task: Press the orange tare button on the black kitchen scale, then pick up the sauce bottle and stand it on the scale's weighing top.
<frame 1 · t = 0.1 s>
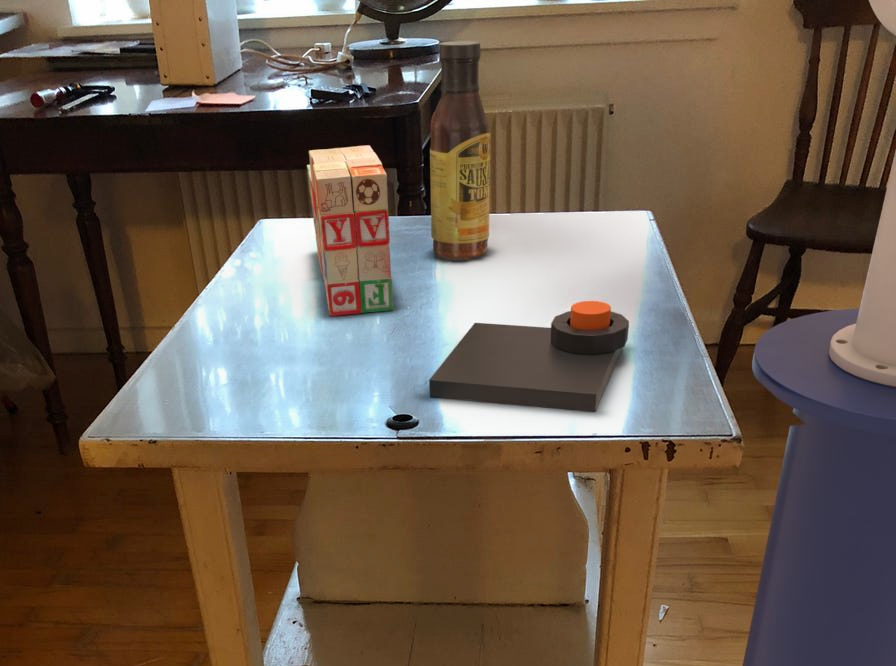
sauce bottle: (461, 255, 107), on the table
tare button: (590, 316, 79), point 3 cm above the table, slide at 0.1 cm
stack of blocks: (352, 282, 101), on the table
scale: (529, 371, 79), on the table
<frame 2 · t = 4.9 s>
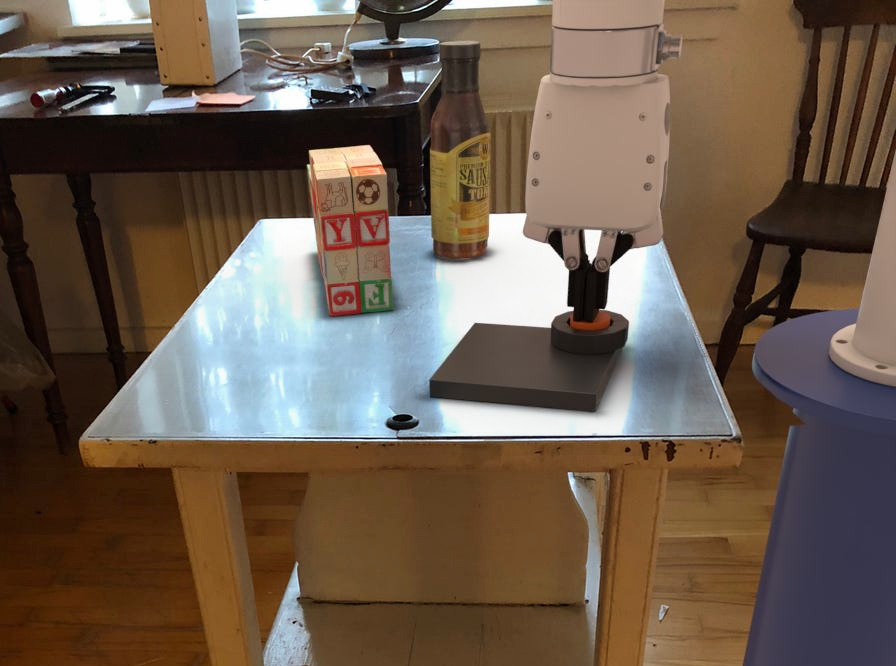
hand: (586, 316, 79), 3 cm above the table, tool pointing down, fingers closed
tare button: (589, 326, 80), point 3 cm above the table, slide at -0.6 cm, touching gripper
everything else where it was.
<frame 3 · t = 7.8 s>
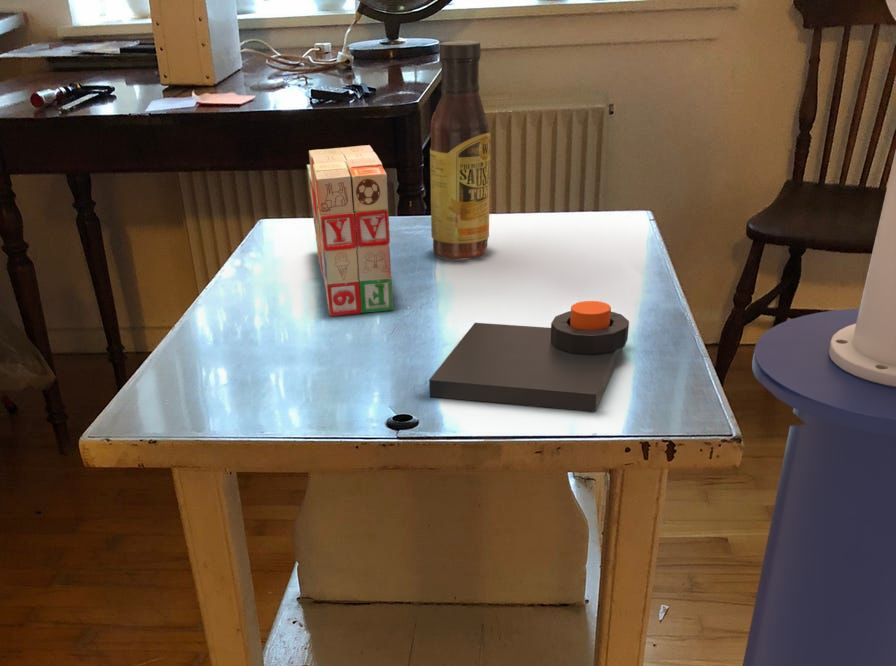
tare button: (590, 316, 79), point 3 cm above the table, slide at 0.1 cm
everything else where it was.
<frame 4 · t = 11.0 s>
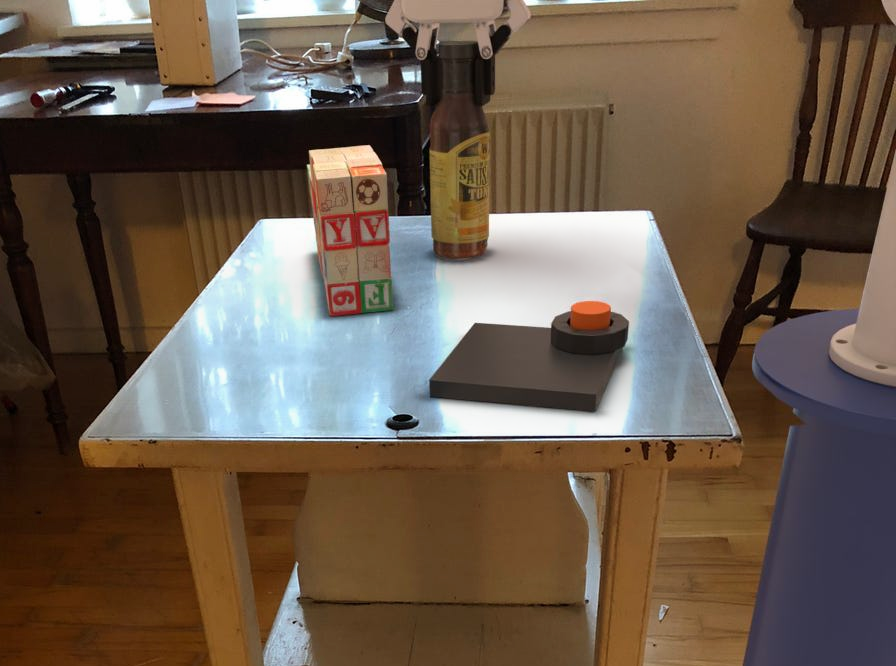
hand: (458, 101, 98), 15 cm above the table, tool pointing down, fingers closed on sauce bottle, 4 cm apart
sauce bottle: (461, 255, 107), on the table, touching gripper
everything else where it was.
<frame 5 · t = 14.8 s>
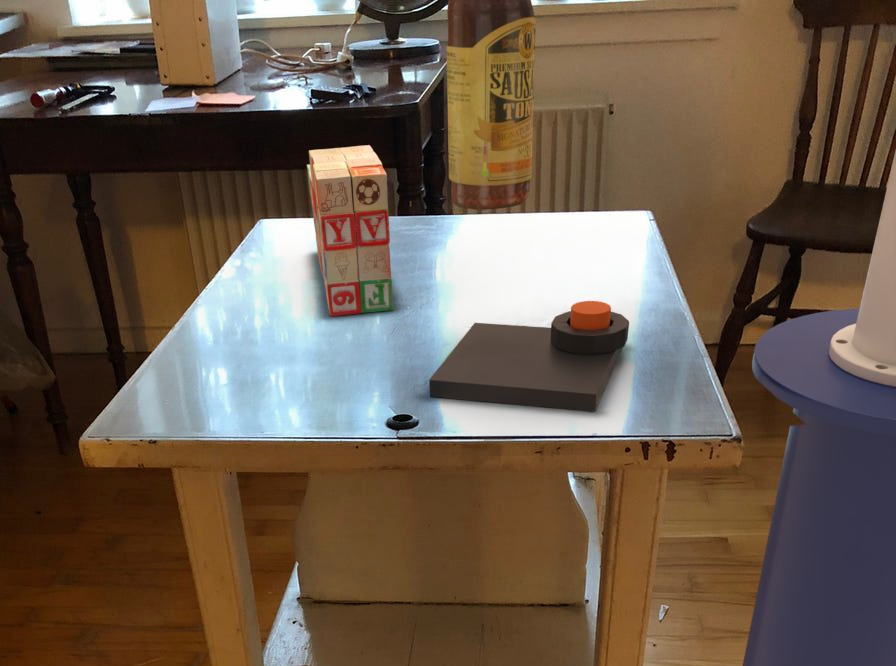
sauce bottle: (491, 205, 75), point 12 cm above the table, touching gripper
everything else where it was.
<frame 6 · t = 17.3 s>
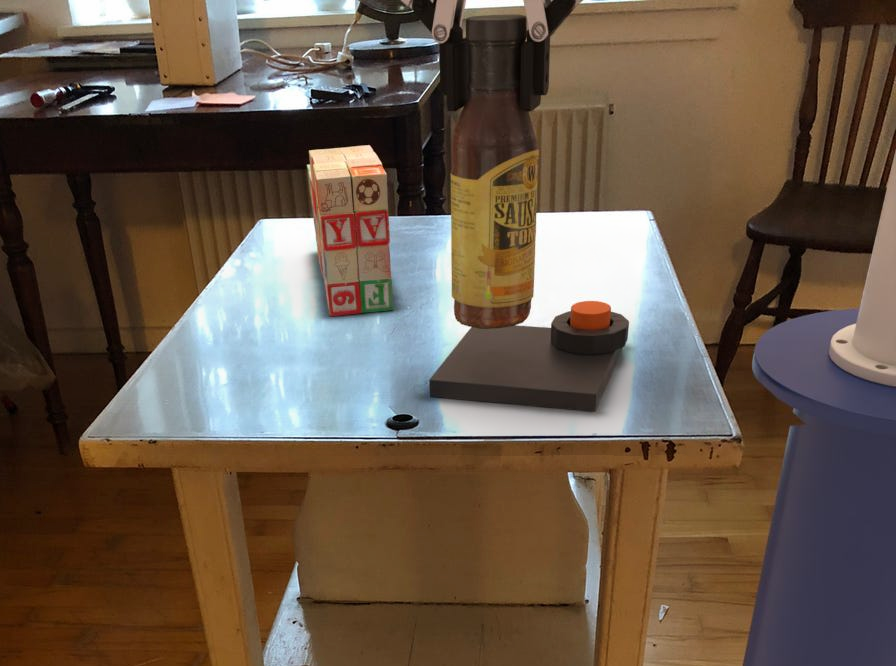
hand: (494, 104, 67), 20 cm above the table, tool pointing down, fingers closed on sauce bottle, 4 cm apart
sauce bottle: (493, 321, 76), point 5 cm above the table, touching gripper
everything else where it was.
when the fingers open (16 cm above the table, at t = 18.9 s): sauce bottle stays where it is, resting on scale.
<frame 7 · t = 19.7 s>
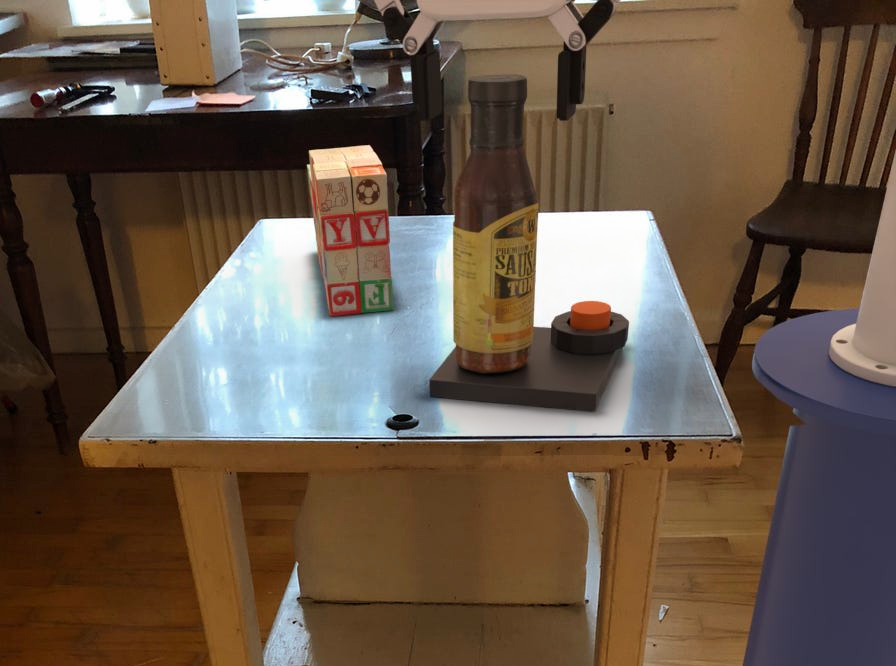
hand: (497, 117, 67), 19 cm above the table, tool pointing down, fingers open, 9 cm apart
sauce bottle: (494, 364, 78), point 1 cm above the table, touching scale
everything else where it was.
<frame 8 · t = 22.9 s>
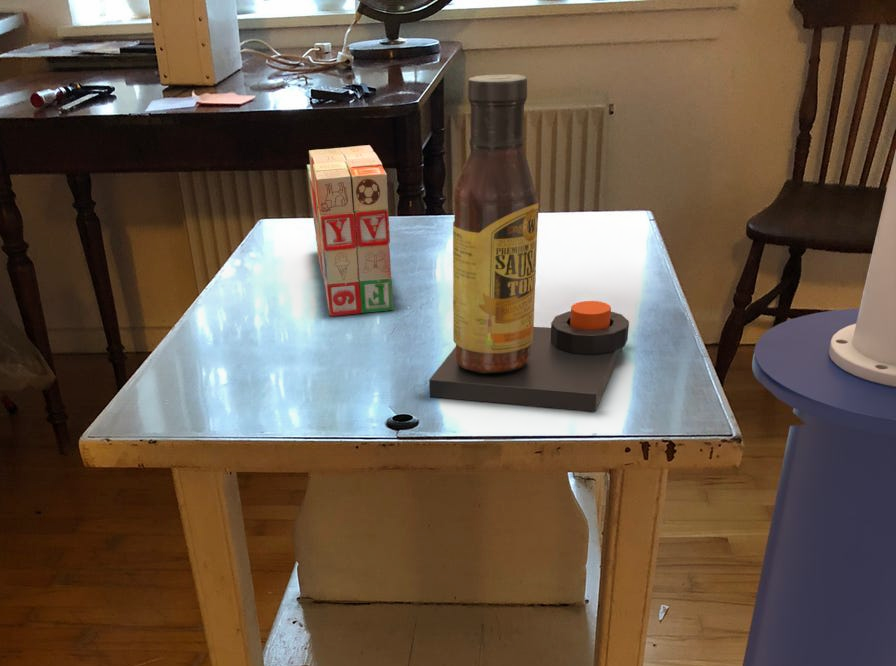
nothing on the table moved.
at the end: tare button pushed in 0.9 cm at the most during the clip, back to where it started at the end; sauce bottle inside the target area on the scale (3.2 cm from its centre), point 1.2 cm above the scale's base; sauce bottle tilted 0° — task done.
